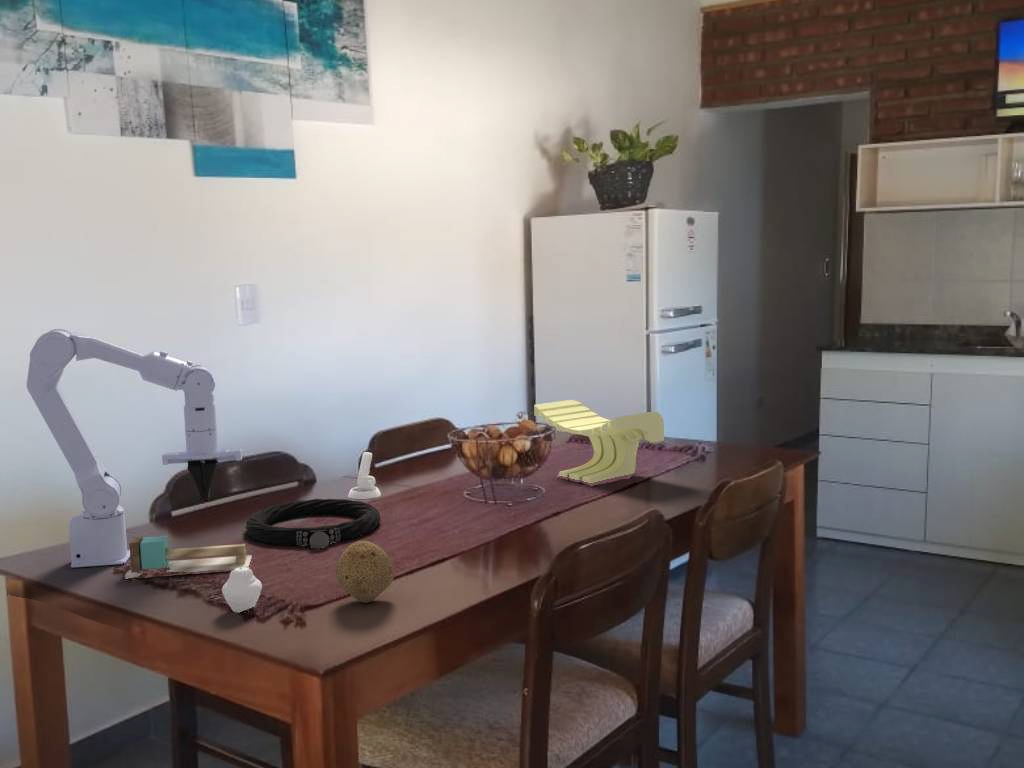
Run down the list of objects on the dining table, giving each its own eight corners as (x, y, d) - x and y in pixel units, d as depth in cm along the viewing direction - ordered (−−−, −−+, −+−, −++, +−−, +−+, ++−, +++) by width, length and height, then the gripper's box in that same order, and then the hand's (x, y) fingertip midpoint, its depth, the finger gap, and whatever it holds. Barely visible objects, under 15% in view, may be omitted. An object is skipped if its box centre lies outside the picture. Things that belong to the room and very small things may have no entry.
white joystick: (384, 466, 238) (387, 454, 232) (377, 511, 232) (380, 501, 226) (354, 461, 237) (356, 449, 231) (346, 506, 231) (348, 495, 225)
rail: (125, 580, 170) (122, 545, 169) (133, 568, 177) (131, 535, 176) (248, 570, 174) (246, 536, 173) (251, 559, 181) (250, 526, 180)
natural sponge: (324, 605, 155) (321, 544, 154) (360, 588, 162) (358, 530, 161) (368, 614, 150) (365, 552, 149) (403, 597, 158) (401, 537, 156)
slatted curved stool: (664, 482, 236) (663, 409, 234) (616, 492, 226) (615, 417, 224) (581, 464, 259) (580, 398, 257) (535, 473, 250) (534, 404, 248)
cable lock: (371, 492, 218) (390, 525, 189) (372, 508, 219) (391, 544, 190) (244, 502, 211) (244, 538, 182) (245, 520, 211) (245, 558, 183)
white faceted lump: (269, 610, 153) (266, 567, 152) (231, 619, 150) (228, 575, 149) (254, 600, 158) (252, 558, 157) (217, 608, 155) (215, 565, 154)
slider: (142, 569, 172) (140, 543, 171) (146, 563, 176) (144, 537, 175) (165, 567, 173) (163, 541, 172) (169, 561, 176) (167, 535, 176)
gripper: (157, 434, 180) (162, 506, 182) (237, 430, 183) (242, 501, 184) (164, 428, 187) (168, 497, 189) (241, 424, 190) (245, 492, 191)
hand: (205, 498), depth 187 cm, fingers closed
